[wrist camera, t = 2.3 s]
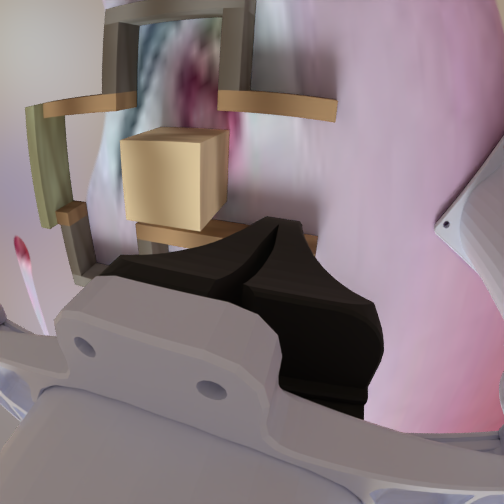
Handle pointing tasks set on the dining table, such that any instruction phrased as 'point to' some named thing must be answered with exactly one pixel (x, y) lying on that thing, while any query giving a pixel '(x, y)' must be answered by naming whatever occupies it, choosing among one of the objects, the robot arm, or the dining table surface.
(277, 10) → the dining table surface
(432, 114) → the dining table surface
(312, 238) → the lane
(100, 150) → the dining table surface
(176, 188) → the block
